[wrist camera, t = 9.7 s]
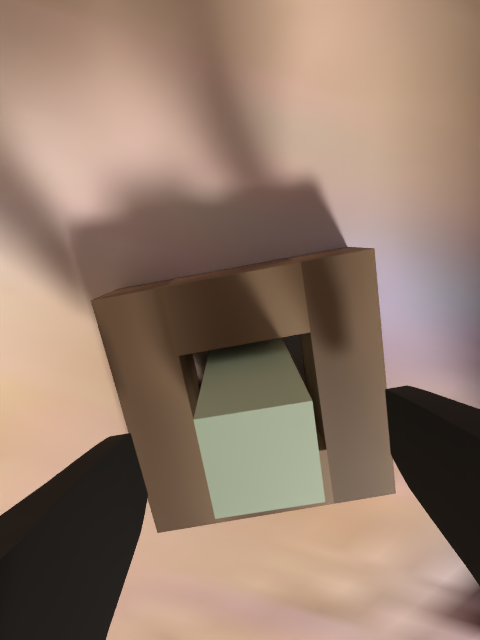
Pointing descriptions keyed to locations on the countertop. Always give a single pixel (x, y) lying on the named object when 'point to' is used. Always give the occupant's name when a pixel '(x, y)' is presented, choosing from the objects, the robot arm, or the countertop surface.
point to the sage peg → (257, 431)
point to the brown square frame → (242, 328)
